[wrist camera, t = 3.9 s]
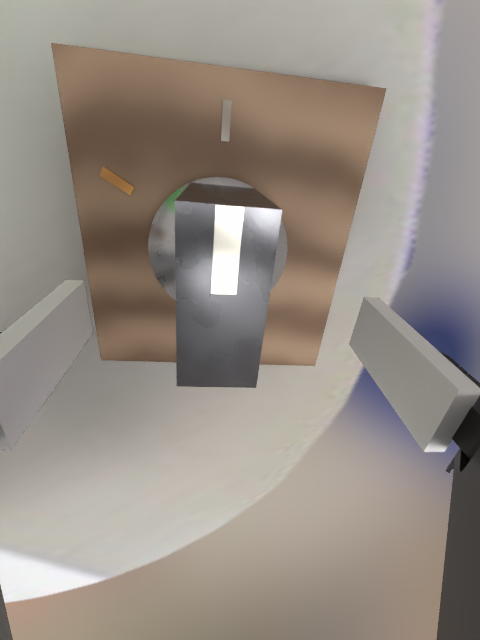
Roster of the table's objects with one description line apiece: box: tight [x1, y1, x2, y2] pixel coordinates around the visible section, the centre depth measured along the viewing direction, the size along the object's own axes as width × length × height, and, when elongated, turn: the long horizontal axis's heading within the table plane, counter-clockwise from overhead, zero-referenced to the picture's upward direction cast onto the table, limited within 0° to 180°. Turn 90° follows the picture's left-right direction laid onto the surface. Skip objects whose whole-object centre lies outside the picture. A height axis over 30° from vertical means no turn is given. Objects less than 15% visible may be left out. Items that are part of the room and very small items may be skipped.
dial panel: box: [51, 43, 386, 366], centre depth 27 cm, size 24×22×3 cm
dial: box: [148, 176, 287, 388], centre depth 20 cm, size 11×11×12 cm
